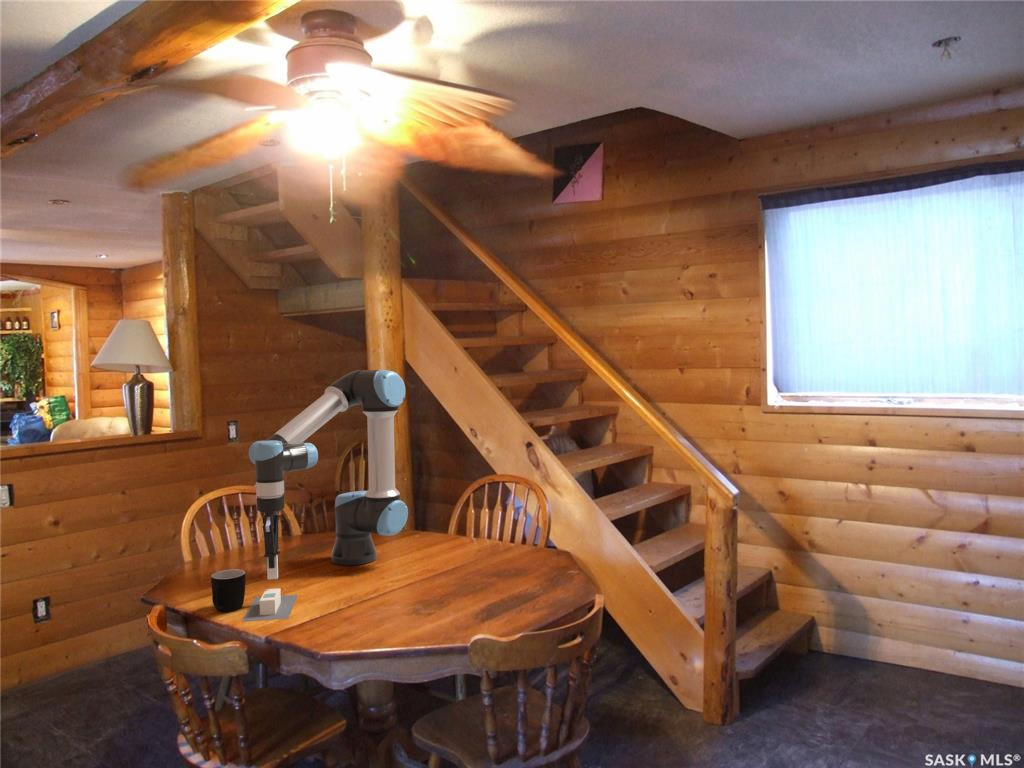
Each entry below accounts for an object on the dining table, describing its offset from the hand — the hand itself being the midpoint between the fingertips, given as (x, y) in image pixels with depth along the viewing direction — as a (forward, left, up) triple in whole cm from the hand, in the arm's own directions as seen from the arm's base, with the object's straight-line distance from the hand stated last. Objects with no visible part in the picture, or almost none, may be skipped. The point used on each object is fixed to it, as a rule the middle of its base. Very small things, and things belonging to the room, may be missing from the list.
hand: (272, 578), depth 220 cm
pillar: (0, 0, -5) cm, 5 cm away
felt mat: (0, +4, -7) cm, 8 cm away
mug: (+12, +4, -8) cm, 15 cm away
